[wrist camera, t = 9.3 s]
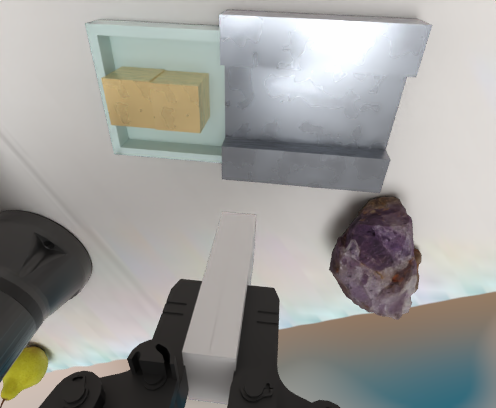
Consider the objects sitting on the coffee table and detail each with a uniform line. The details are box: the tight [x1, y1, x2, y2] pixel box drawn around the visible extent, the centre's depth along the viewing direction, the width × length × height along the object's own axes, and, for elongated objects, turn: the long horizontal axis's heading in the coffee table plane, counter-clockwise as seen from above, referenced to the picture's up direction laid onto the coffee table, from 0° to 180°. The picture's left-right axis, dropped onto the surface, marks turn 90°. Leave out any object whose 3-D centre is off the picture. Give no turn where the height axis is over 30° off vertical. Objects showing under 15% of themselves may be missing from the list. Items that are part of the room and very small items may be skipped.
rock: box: [329, 197, 422, 319], centre depth 35 cm, size 12×9×10 cm
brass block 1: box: [101, 66, 165, 129], centre depth 30 cm, size 4×4×4 cm
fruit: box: [0, 346, 48, 408], centre depth 59 cm, size 7×7×12 cm
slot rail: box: [219, 10, 432, 193], centre depth 29 cm, size 15×14×4 cm
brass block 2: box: [149, 70, 210, 133], centre depth 29 cm, size 4×4×4 cm
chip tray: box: [85, 20, 225, 163], centre depth 31 cm, size 11×12×2 cm
